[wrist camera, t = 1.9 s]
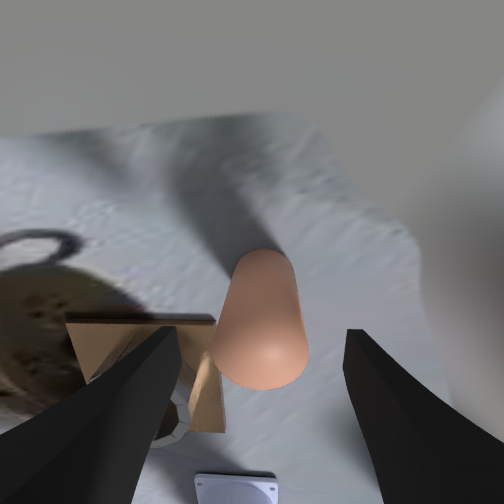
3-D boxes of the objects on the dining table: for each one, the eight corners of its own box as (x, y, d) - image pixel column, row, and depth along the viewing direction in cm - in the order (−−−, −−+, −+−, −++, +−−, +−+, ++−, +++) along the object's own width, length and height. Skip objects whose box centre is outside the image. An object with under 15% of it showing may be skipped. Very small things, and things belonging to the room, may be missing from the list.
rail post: (293, 303, 18) (306, 391, 11) (235, 302, 18) (215, 388, 12) (295, 248, 16) (311, 313, 10) (232, 248, 17) (207, 312, 10)
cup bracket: (226, 426, 23) (219, 466, 20) (105, 420, 24) (82, 458, 21) (215, 320, 19) (205, 351, 16) (71, 318, 20) (36, 347, 17)
